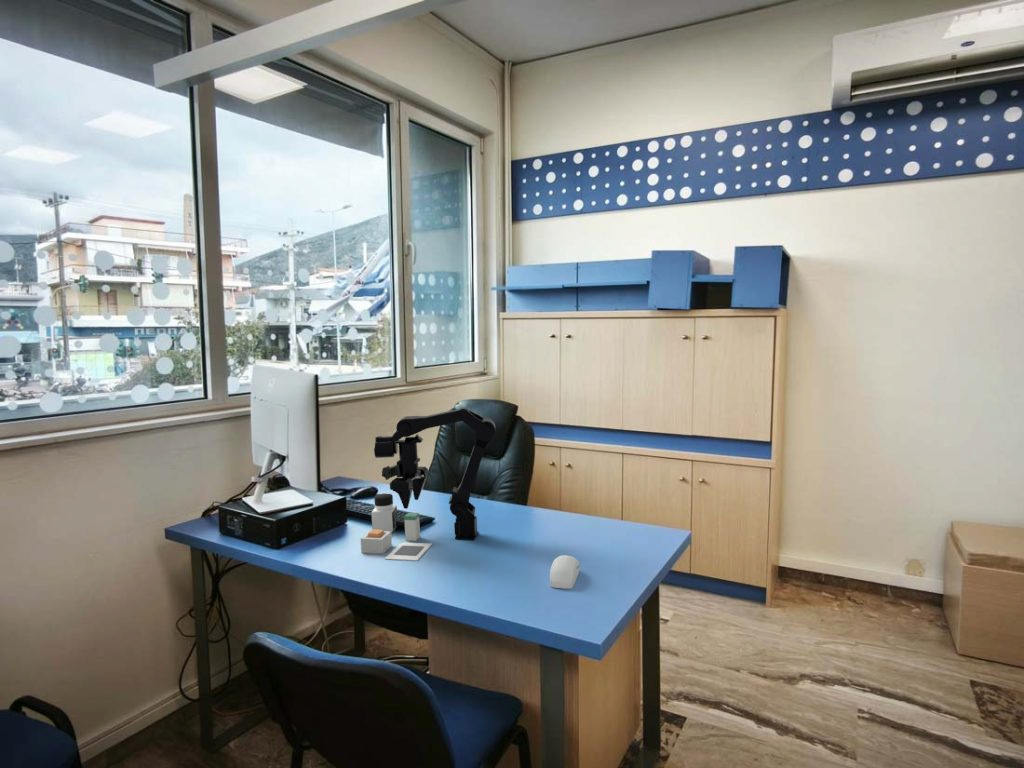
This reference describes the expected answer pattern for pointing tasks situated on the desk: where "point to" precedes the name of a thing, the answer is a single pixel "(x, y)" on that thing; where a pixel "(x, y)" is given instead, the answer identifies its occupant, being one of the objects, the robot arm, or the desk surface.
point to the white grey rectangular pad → (408, 551)
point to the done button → (375, 533)
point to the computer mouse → (564, 572)
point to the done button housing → (376, 543)
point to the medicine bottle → (384, 513)
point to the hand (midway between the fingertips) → (411, 504)
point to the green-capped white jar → (412, 526)
